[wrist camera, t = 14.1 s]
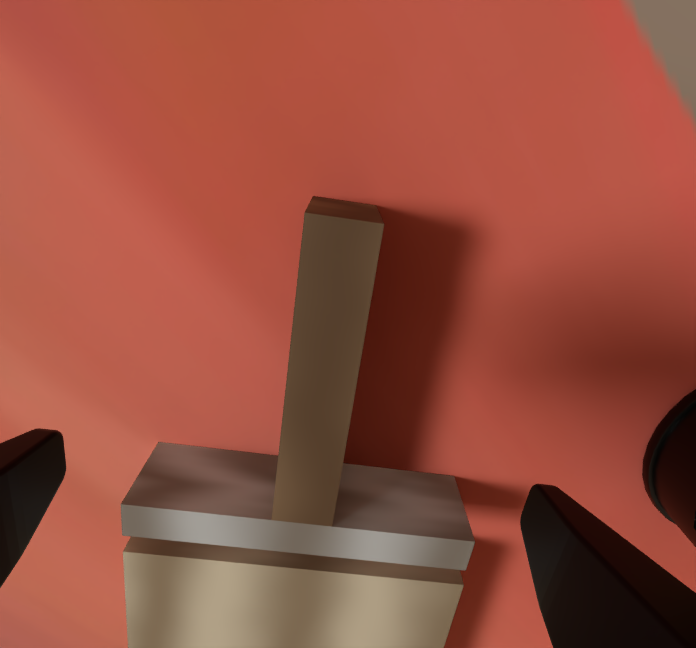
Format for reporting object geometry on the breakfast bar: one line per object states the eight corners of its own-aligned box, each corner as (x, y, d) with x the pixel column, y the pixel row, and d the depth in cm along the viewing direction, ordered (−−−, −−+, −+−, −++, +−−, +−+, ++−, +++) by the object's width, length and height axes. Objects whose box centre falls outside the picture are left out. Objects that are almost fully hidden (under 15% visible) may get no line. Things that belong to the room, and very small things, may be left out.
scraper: (159, 468, 22) (122, 535, 19) (157, 172, 17) (106, 183, 14) (446, 500, 23) (465, 570, 20) (524, 226, 18) (569, 250, 14)
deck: (153, 649, 27) (131, 708, 24) (150, 500, 23) (122, 551, 20) (409, 672, 28) (416, 731, 25) (450, 532, 24) (463, 584, 21)
